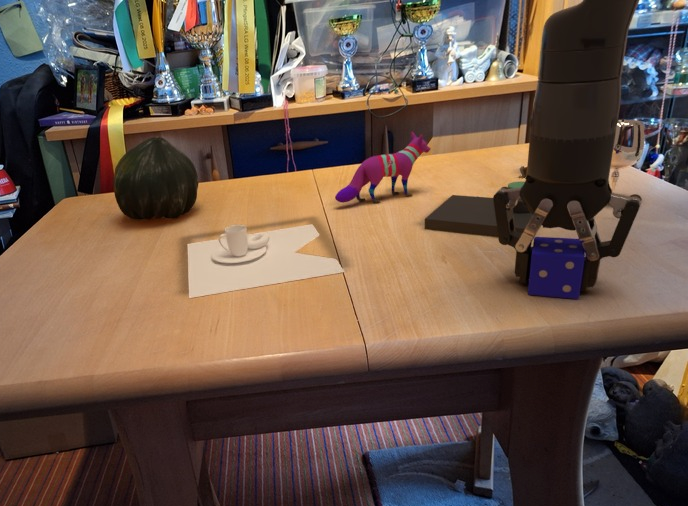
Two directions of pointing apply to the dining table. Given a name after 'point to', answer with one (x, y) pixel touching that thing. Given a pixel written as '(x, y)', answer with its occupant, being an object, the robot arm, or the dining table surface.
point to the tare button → (516, 185)
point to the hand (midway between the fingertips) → (553, 283)
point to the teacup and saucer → (254, 260)
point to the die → (556, 267)
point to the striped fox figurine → (384, 171)
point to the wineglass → (626, 146)
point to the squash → (155, 181)
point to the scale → (473, 216)
